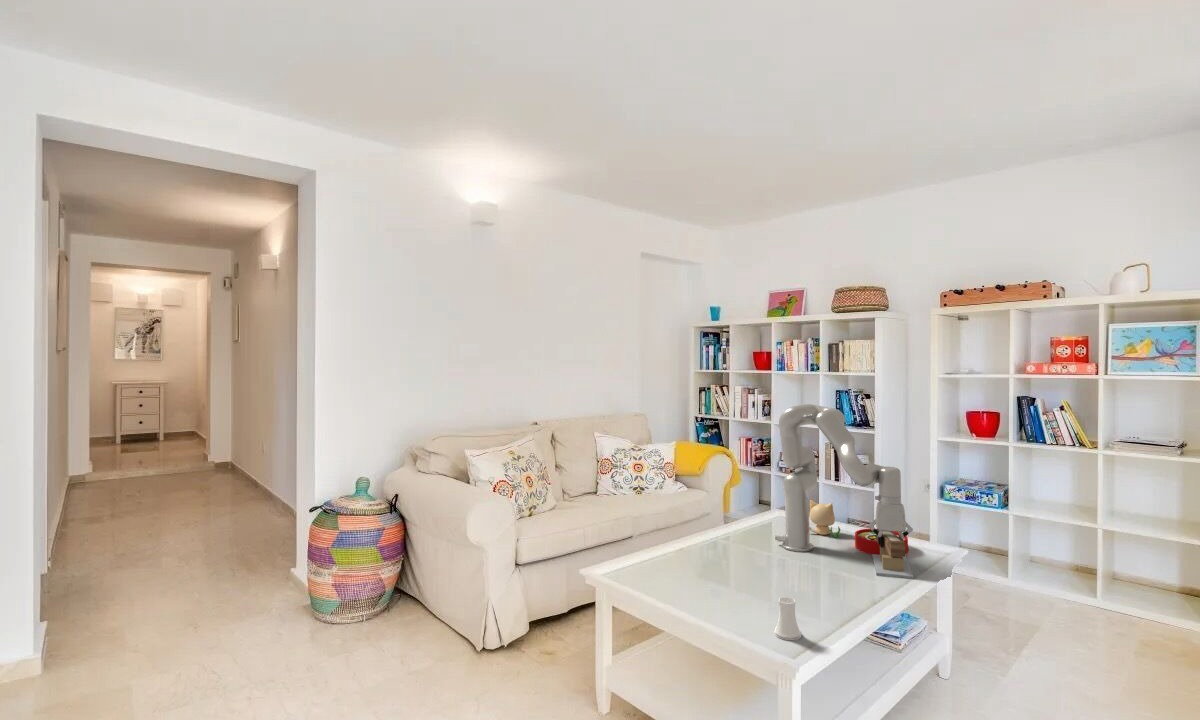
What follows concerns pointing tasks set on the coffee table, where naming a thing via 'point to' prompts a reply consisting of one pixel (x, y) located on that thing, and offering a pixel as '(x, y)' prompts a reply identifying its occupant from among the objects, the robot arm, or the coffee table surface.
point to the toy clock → (871, 541)
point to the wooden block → (893, 544)
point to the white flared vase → (787, 620)
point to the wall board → (891, 572)
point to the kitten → (822, 518)
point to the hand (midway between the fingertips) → (890, 547)
